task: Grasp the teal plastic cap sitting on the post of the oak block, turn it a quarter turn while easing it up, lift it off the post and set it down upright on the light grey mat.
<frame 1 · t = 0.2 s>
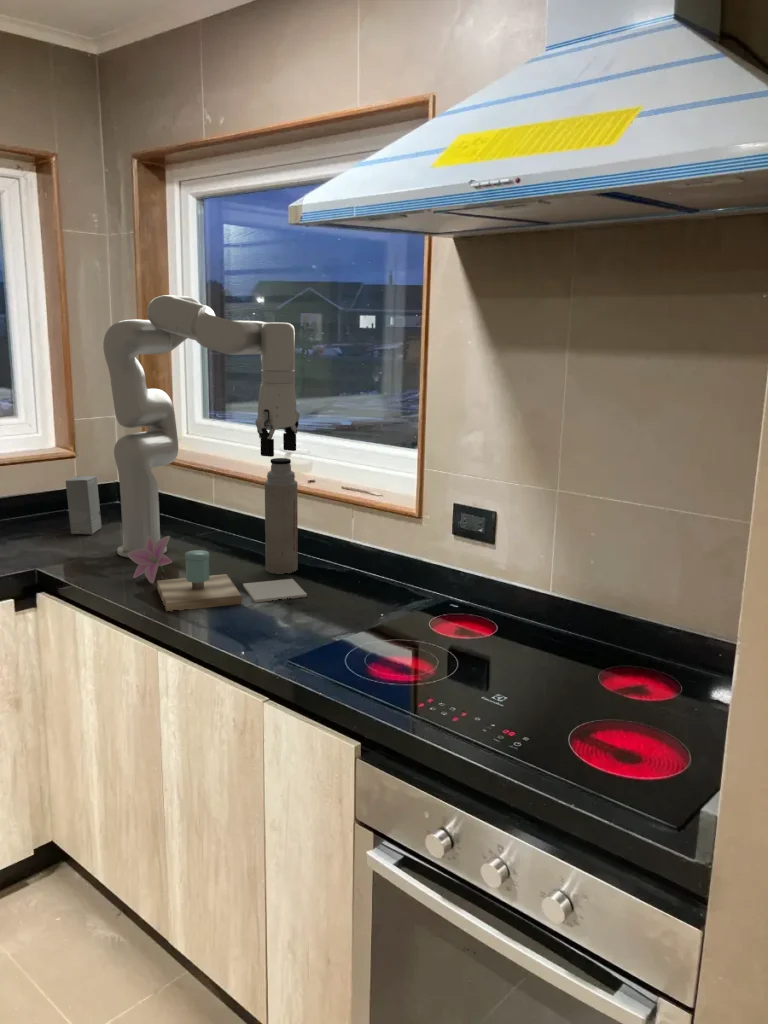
hand: (278, 453, 190), 31 cm above the table, tool pointing down, fingers open, 9 cm apart
post block: (198, 596, 185), on the table
lily: (152, 577, 198), on the table
thermos bottle: (281, 570, 206), on the table
cap: (197, 579, 184), point 4 cm above the table, touching post block
skincare box: (85, 531, 238), on the table
grey mat: (274, 591, 190), on the table
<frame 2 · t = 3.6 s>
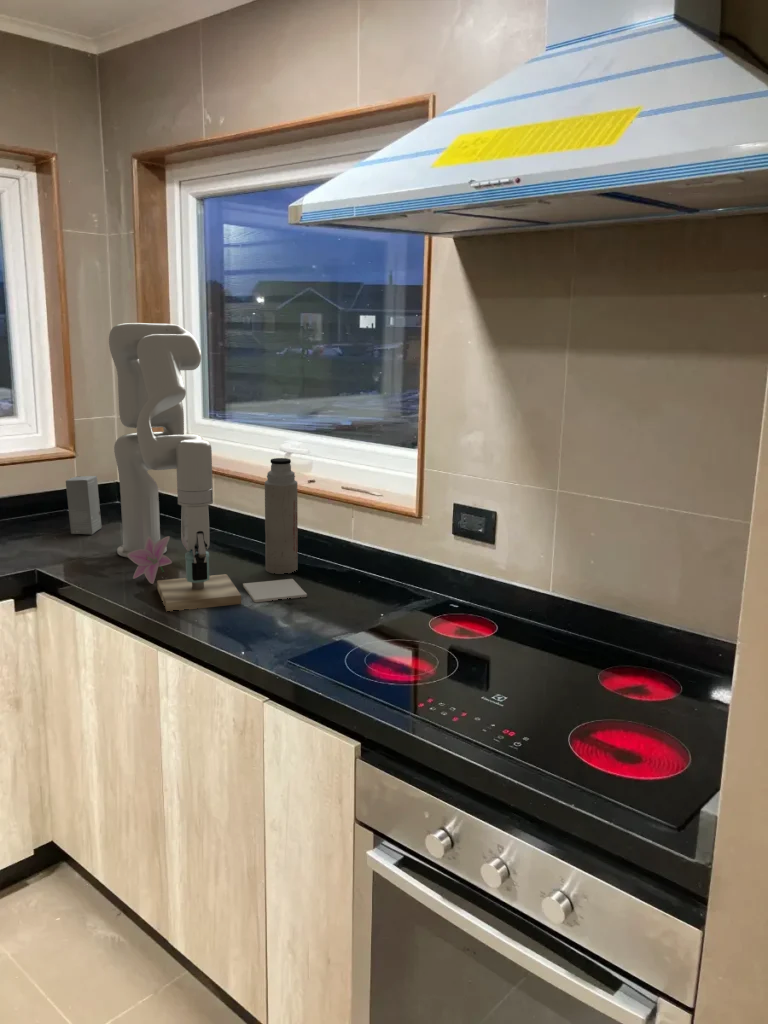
hand: (197, 575, 184), 5 cm above the table, tool pointing down, fingers closed on cap, 4 cm apart
cap: (197, 579, 184), point 4 cm above the table, touching gripper, post block
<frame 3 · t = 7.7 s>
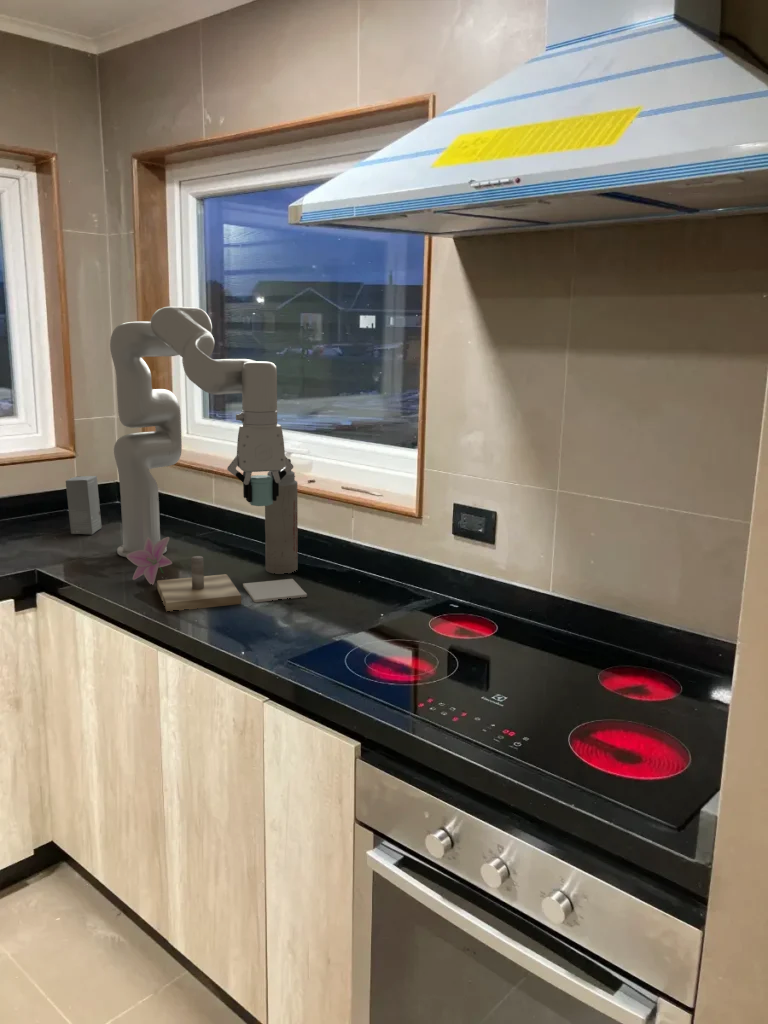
hand: (261, 499, 184), 22 cm above the table, tool pointing down, fingers closed on cap, 4 cm apart
cap: (261, 503, 184), point 21 cm above the table, touching gripper
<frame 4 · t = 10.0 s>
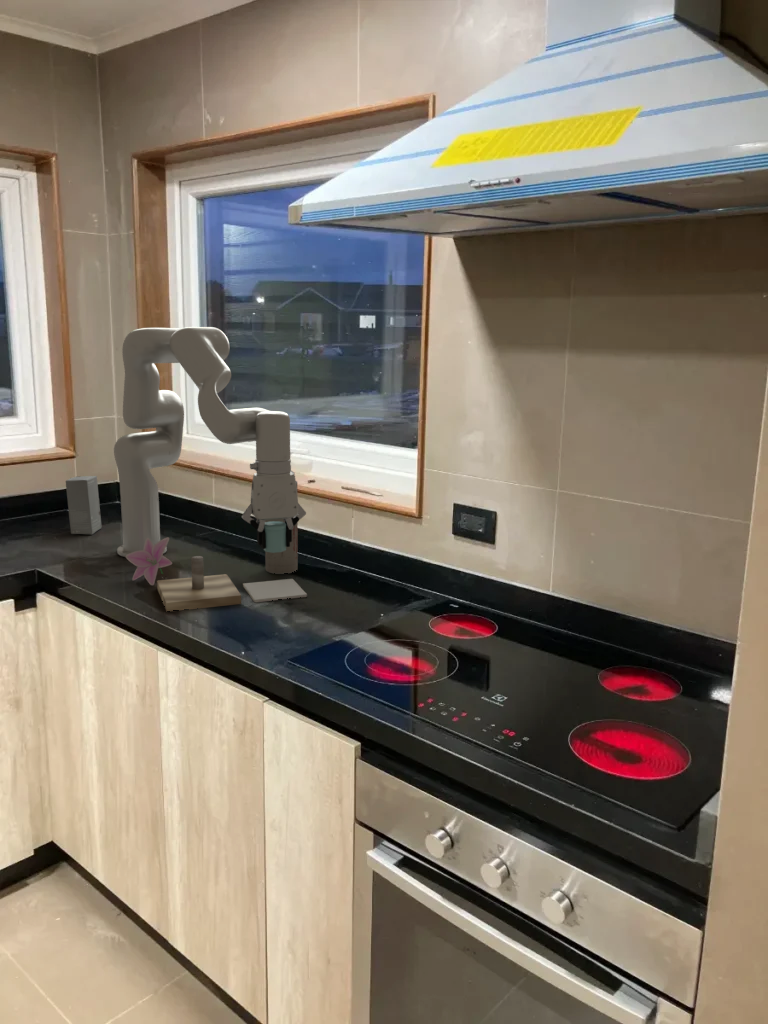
hand: (274, 545, 187), 11 cm above the table, tool pointing down, fingers closed on cap, 4 cm apart
cap: (274, 549, 187), point 10 cm above the table, touching gripper
when the fingers open (3 cm above the table, at t = 11.9 s): cap drops 1 cm, resting on grey mat.
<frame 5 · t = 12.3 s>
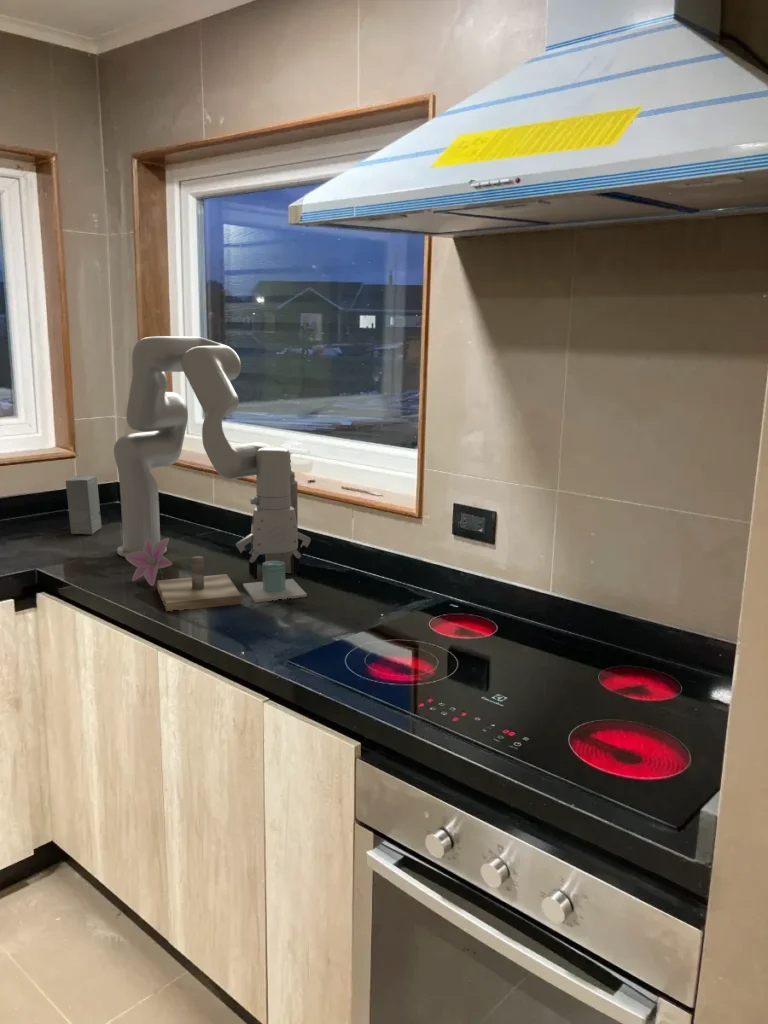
hand: (274, 575, 189), 4 cm above the table, tool pointing down, fingers open, 9 cm apart
cap: (274, 588, 189), point 1 cm above the table, touching grey mat
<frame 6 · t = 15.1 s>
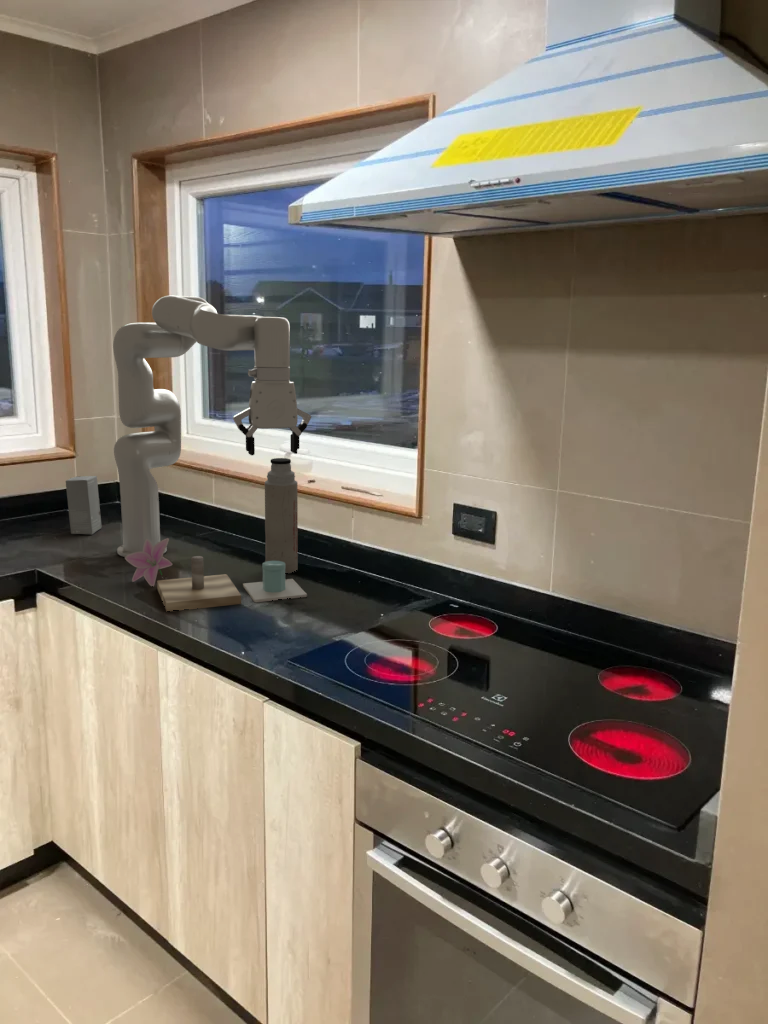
hand: (272, 453, 182), 32 cm above the table, tool pointing down, fingers open, 9 cm apart
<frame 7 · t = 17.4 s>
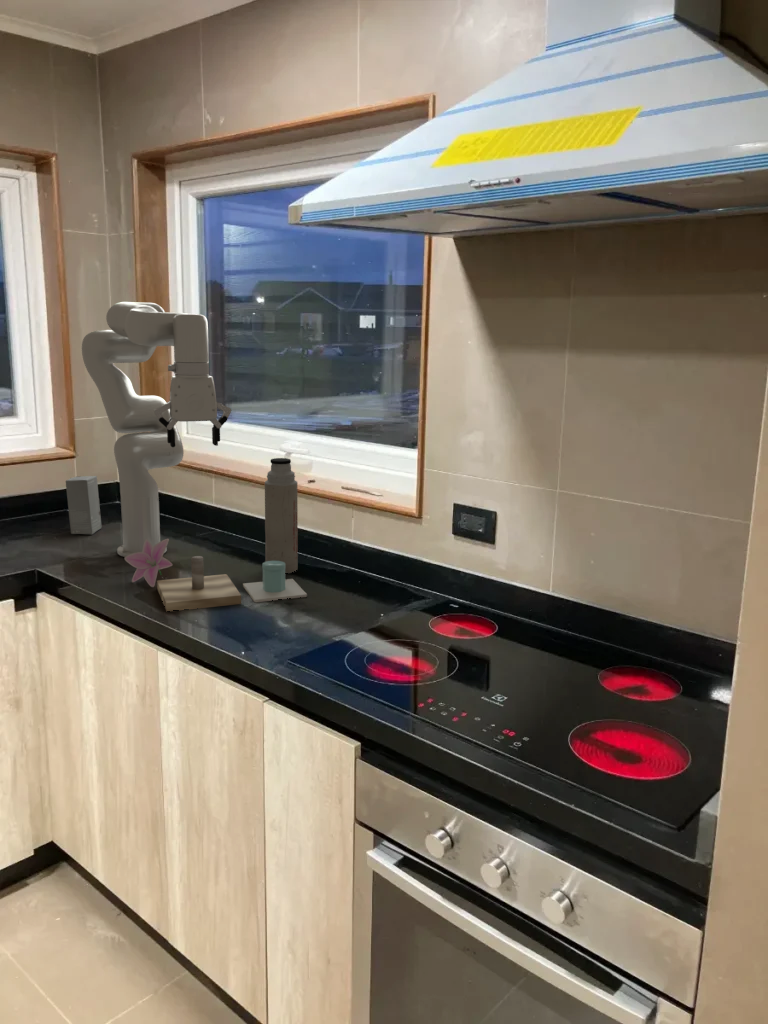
hand: (194, 445, 189), 32 cm above the table, tool pointing down, fingers open, 9 cm apart
at the end: cap inside the target area on the grey mat (0.1 cm from its centre), point 0.6 cm above the grey mat's base; cap tilted 0°; the gripper is holding nothing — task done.
